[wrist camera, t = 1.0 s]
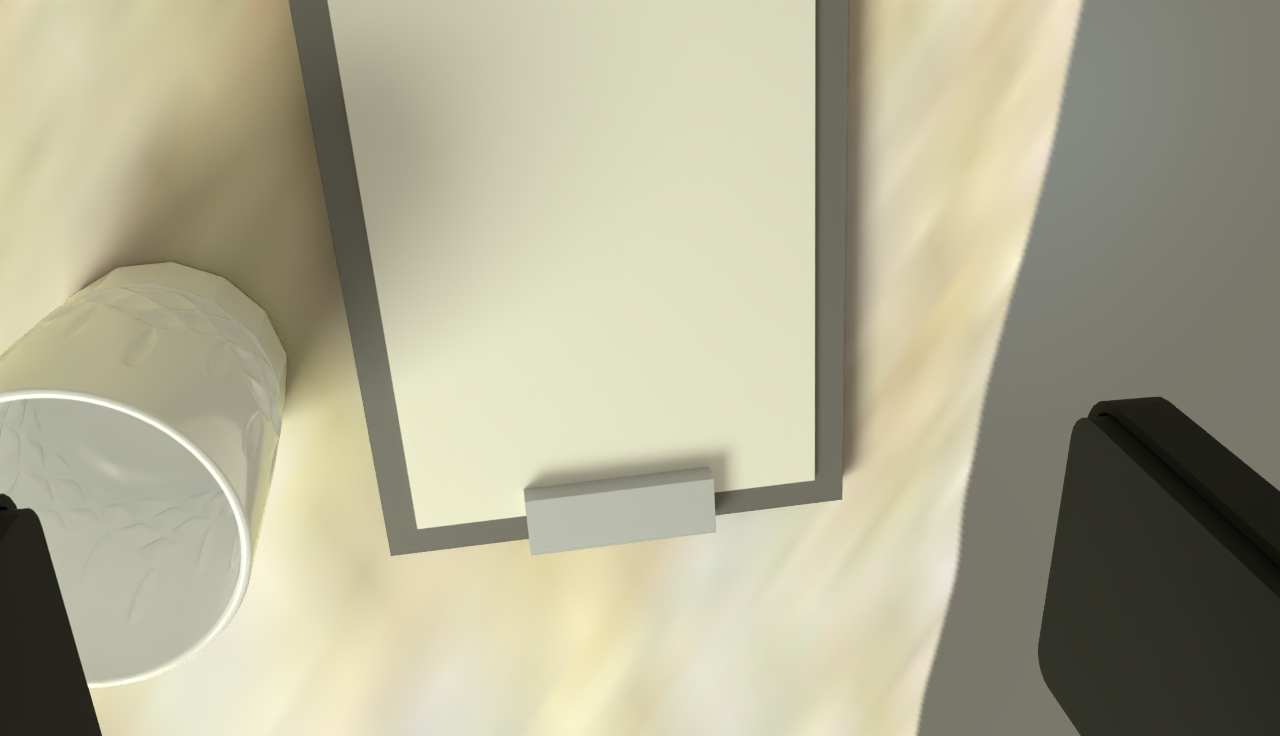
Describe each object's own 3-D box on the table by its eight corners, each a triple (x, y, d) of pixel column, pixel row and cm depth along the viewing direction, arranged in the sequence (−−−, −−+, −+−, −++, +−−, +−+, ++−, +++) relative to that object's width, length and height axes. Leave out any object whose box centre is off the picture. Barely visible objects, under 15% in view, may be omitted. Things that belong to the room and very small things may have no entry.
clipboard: (258, -200, 29) (244, -203, 27) (840, -237, 30) (863, -243, 28) (392, 539, 38) (389, 573, 36) (833, 484, 39) (850, 515, 38)
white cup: (195, 190, 33) (89, 322, 24) (360, 399, 36) (322, 584, 27) (-27, 329, 33) (-212, 508, 24) (154, 521, 37) (49, 741, 28)
